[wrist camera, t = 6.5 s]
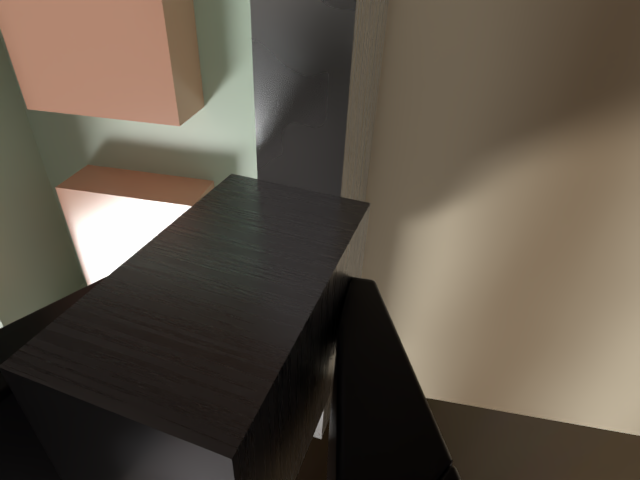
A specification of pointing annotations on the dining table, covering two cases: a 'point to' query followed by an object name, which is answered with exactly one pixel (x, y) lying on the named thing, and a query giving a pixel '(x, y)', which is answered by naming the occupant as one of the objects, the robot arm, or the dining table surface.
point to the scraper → (228, 284)
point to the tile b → (121, 212)
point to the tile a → (106, 57)
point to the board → (512, 203)
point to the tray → (113, 156)
